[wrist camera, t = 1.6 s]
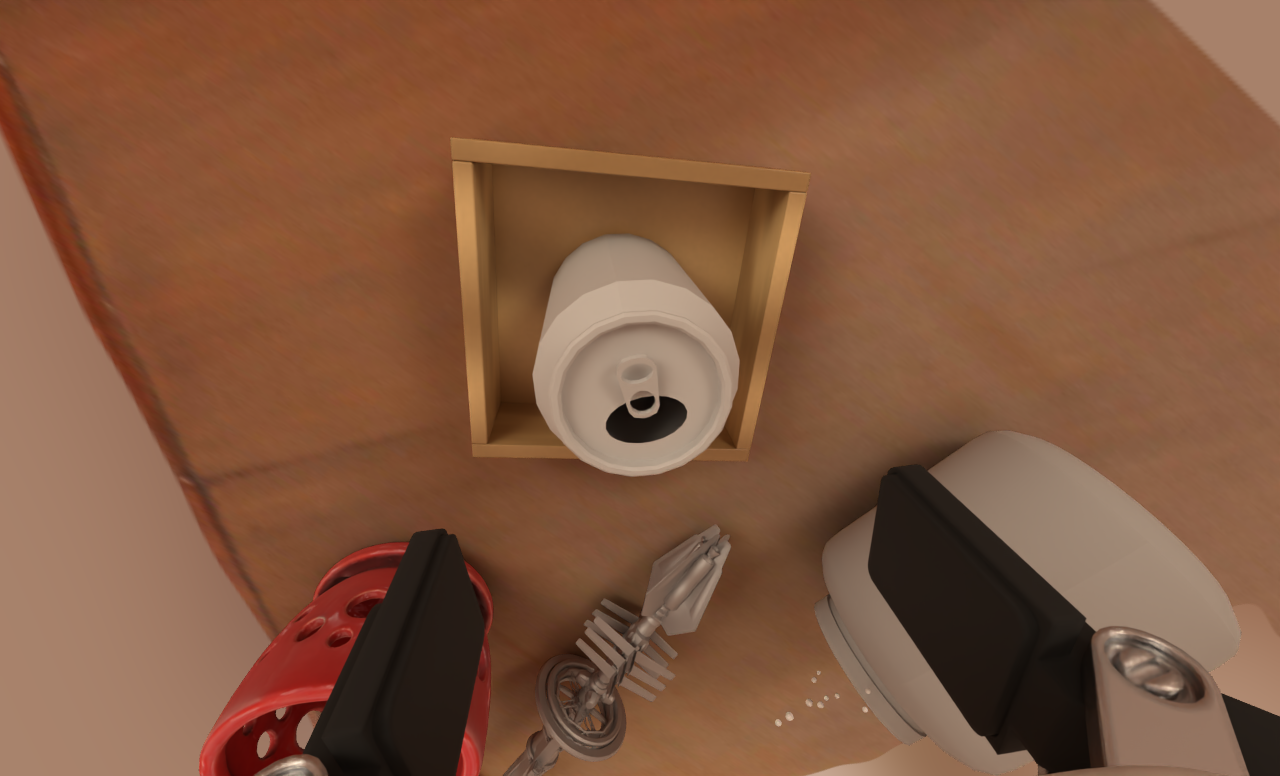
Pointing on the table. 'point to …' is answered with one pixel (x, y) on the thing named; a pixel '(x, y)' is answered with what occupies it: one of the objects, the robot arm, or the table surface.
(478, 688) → the flower pot
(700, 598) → the spaceship
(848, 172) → the table surface
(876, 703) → the jar
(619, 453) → the can
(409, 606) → the robot arm
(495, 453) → the wooden box
